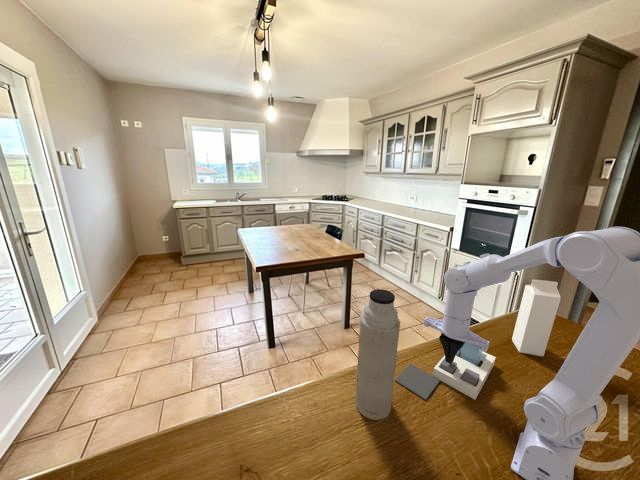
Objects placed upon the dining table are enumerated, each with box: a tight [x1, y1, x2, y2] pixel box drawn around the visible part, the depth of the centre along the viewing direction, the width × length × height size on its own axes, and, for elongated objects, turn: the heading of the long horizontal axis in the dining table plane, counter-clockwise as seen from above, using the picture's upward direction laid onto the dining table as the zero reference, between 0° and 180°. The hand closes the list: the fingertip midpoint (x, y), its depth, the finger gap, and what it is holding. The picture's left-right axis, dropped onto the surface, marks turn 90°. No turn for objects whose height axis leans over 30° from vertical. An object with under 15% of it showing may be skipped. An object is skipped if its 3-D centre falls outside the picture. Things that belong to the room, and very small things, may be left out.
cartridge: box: [459, 342, 482, 367], centre depth 72 cm, size 4×4×8 cm
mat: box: [394, 363, 441, 402], centre depth 67 cm, size 8×8×1 cm
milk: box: [511, 279, 562, 357], centre depth 76 cm, size 6×6×22 cm
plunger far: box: [440, 358, 457, 374], centre depth 68 cm, size 3×3×3 cm
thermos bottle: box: [355, 288, 401, 421], centre depth 56 cm, size 8×8×28 cm
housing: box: [432, 348, 497, 401], centre depth 70 cm, size 16×10×2 cm, turn 134°
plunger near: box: [461, 368, 480, 387], centre depth 64 cm, size 3×3×3 cm
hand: (449, 360), depth 67 cm, fingers closed
